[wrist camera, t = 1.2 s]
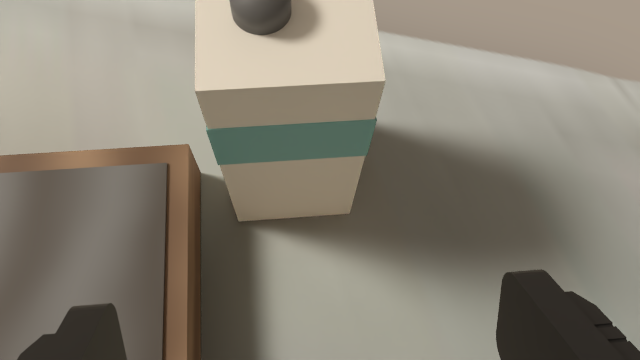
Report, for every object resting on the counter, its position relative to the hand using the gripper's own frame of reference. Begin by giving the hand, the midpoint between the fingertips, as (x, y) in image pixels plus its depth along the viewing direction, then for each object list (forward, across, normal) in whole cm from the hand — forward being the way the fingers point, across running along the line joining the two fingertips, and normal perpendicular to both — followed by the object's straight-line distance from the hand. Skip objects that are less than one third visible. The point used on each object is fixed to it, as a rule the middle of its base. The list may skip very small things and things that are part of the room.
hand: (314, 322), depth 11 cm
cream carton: (+19, 0, +4) cm, 19 cm away
